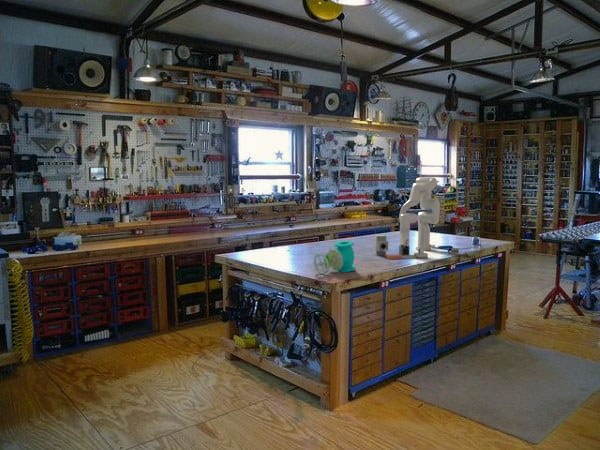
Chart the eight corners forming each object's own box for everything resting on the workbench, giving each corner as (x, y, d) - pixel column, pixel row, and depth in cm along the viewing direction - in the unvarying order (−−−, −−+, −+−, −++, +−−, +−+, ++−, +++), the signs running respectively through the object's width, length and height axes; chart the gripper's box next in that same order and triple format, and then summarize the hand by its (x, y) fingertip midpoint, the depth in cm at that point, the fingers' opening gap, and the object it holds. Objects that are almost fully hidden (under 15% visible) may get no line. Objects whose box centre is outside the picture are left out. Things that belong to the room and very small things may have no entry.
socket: (406, 254, 394) (406, 245, 393) (409, 255, 388) (409, 246, 387) (398, 254, 392) (399, 245, 392) (401, 255, 387) (402, 246, 386)
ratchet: (424, 256, 385) (424, 247, 384) (429, 258, 375) (430, 249, 374) (383, 257, 378) (383, 248, 378) (388, 259, 369) (388, 250, 368)
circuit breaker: (379, 256, 382) (379, 237, 380) (373, 253, 396) (373, 234, 394) (388, 256, 383) (389, 237, 382) (382, 253, 397) (382, 234, 396)
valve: (358, 242, 327) (324, 252, 309) (360, 268, 330) (326, 280, 312) (343, 239, 338) (309, 249, 320) (345, 265, 341) (311, 276, 323)
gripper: (396, 228, 396) (395, 251, 398) (404, 231, 379) (403, 255, 381) (404, 228, 397) (404, 251, 399) (413, 231, 380) (413, 254, 382)
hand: (404, 252), depth 390 cm, fingers closed on socket, 6 cm apart
